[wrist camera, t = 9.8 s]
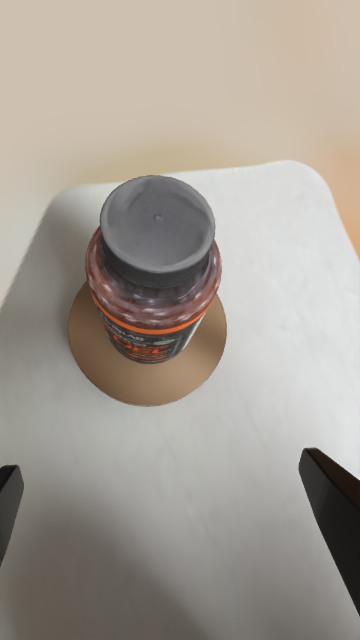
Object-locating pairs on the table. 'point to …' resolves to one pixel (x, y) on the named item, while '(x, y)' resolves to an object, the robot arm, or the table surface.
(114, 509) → the table surface
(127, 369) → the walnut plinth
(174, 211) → the supplement bottle
